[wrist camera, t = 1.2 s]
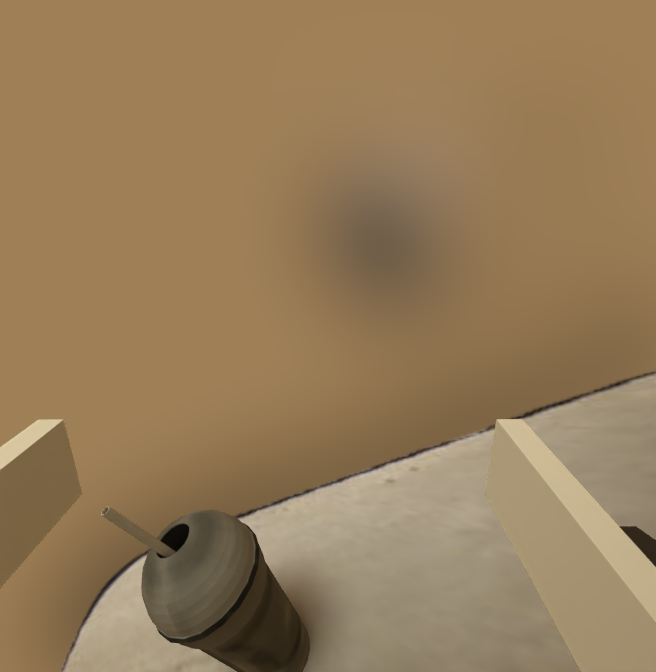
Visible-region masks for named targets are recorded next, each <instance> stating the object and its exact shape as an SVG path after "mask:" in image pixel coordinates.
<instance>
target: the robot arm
mask: <svg viewBox="0 0 656 672" xmlns="http://www.w3.org/2000/svg"><path fill="white" fill-rule="evenodd" d="M81 495H82V490H81V486H80V483H79V479H78V475H77V471H76V467H75V463H74V459H73V455H72V451H71V448H70V443H69V439H68V436H67V432H66V428H65V424H64V420H37V421H36V422H35V423H33V424H32V425H30V426H29V427H28V428H26V429H25V430H24V431H22V432H21V433H19V434H18V435H17V436H16V437H14V438H13V439H11V440H10V441H8V442H7V443H6V444H4V445H3V446H2V447H0V588H1V587H2V586H3V585H4V584H5V582H6V581H7V580H8V579H9V578H10V577H11V575H12V574H13V573H14V572H15V571H16V570H17V569H18V567H19V566H20V565H21V564H22V563H23V562H24V560H25V559H26V558H27V557H28V556H29V554H31V552H32V551H33V550H34V549H35V547H37V545H38V544H39V543H40V542H41V541H42V540H43V539H44V537H45V536H46V535H47V534H48V533H49V532H50V531H51V529H52V528H53V527H54V526H55V525H56V523H57V522H58V521H59V520H60V519H61V518H62V517H63V515H64V514H65V513H66V512H67V511H68V510H69V509H70V507H71V506H72V505H73V504H74V503H75V502H76V500H77V499H78V498H79V497H80V496H81ZM485 495H486V497H487V499H488V500H489V502H490V504H491V506H492V508H493V510H494V512H495V513H496V515H497V517H498V519H499V521H500V523H501V525H502V526H503V528H504V530H505V532H506V534H507V536H508V538H509V539H510V541H511V543H512V545H513V547H514V549H515V551H516V552H517V554H518V556H519V558H520V560H521V562H522V563H523V565H524V567H525V569H526V571H527V573H528V575H529V576H530V578H531V580H532V582H533V584H534V586H535V588H536V589H537V591H538V593H539V595H540V597H541V599H542V601H543V602H544V604H545V606H546V608H547V610H548V612H549V614H550V615H551V617H552V619H553V621H554V623H555V625H556V627H557V628H558V630H559V632H560V634H561V636H562V638H563V639H564V641H565V643H566V645H567V647H568V649H569V651H570V652H571V654H572V656H573V658H574V660H575V662H576V664H577V665H578V667H579V669H580V671H581V672H656V540H655V539H653V538H652V537H650V536H649V535H647V534H646V533H644V532H643V531H642V530H640V529H639V528H637V527H619V526H618V525H617V524H616V523H615V522H614V520H613V519H612V518H611V517H610V516H609V515H608V514H607V513H606V512H605V510H604V509H603V508H602V507H601V506H600V505H599V504H598V503H597V502H596V501H595V499H594V498H593V497H592V496H591V495H590V494H589V493H588V492H587V491H586V489H585V488H584V487H583V486H582V485H581V484H580V483H579V482H578V481H577V480H576V478H575V477H574V476H573V475H572V474H571V473H570V472H569V471H568V470H567V468H566V467H565V466H564V465H563V464H562V463H561V462H560V461H559V460H558V459H557V457H556V456H555V455H554V454H553V453H552V452H551V451H550V450H549V449H548V447H547V446H546V445H545V444H544V443H543V442H542V441H541V440H540V439H539V438H538V436H537V435H536V434H535V433H534V432H533V431H532V430H531V429H530V428H529V426H528V425H527V424H526V423H525V422H524V421H523V420H522V419H497V420H496V426H495V433H494V439H493V446H492V452H491V459H490V465H489V472H488V478H487V485H486V491H485Z"/></svg>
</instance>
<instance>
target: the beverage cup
mask: <svg viewBox="0 0 656 672" xmlns="http://www.w3.org/2000/svg"><path fill="white" fill-rule="evenodd" d="M101 515H102V516H103V517H105V518H106V519H108V520H109V521H111V522H112V523H114V524H115V525H117V526H118V527H120V528H121V529H123V530H124V531H126V532H127V533H129V534H130V535H132V536H134V537H135V538H137V539H138V540H140V541H141V542H142V543H144V544H146V545H147V546H148V547H150V550H149V552H148V555H147V558H146V561H145V564H144V567H143V572H142V597H143V600H144V603H145V606H146V609H147V612H148V614H149V616H150V618H151V620H152V622H153V623H154V624H155V625H156V627H157V630H158V632H159V633H160V634H161V635H162V636H163V637H164V638H166V639H167V640H168V641H169V642H171V643H179V644H181V645H184V646H187V647H190V648H194V649H200V650H202V651H203V652H205V653H207V654H208V655H210V656H212V657H214V658H215V659H217V660H219V661H220V662H222V663H224V664H226V665H227V666H229V667H231V668H232V669H234V670H236V671H237V672H302V671H303V669H304V666H305V664H306V662H307V659H308V654H309V637H308V634H307V631H306V629H305V627H304V626H303V624H302V622H301V619H300V617H299V615H298V614H297V612H296V611H295V609H294V607H293V606H292V604H291V602H290V601H289V599H288V598H287V596H286V594H285V593H284V591H283V590H282V588H281V586H280V585H279V583H278V582H277V580H276V578H275V577H274V575H273V573H272V572H271V570H270V569H269V567H268V565H267V564H266V562H265V560H264V556H263V553H262V551H261V548H260V546H259V544H258V541H257V538H256V535H255V534H254V532H253V531H252V530H251V529H250V528H249V526H247V525H246V524H244V523H242V522H241V521H240V520H238V519H237V518H235V517H234V516H231V515H229V514H226V513H223V512H220V511H218V510H201V511H195V512H192V513H189V514H187V515H184V516H182V517H180V518H179V519H177V520H175V521H174V522H172V523H171V524H170V525H169V526H167V527H166V528H165V529H164V530H163V531H162V532H161V534H160V535H159V536H158V537H157V538H155V537H154V536H152V535H151V534H149V533H148V532H146V531H145V530H143V529H142V528H140V527H139V526H137V525H136V524H134V523H133V522H131V521H130V520H129V519H127V518H126V517H124V516H123V515H121V514H120V513H118V512H117V511H115V510H114V509H112V508H111V507H110V506H107V507H106V508H104V509H103V511H102V512H101Z"/></svg>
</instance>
